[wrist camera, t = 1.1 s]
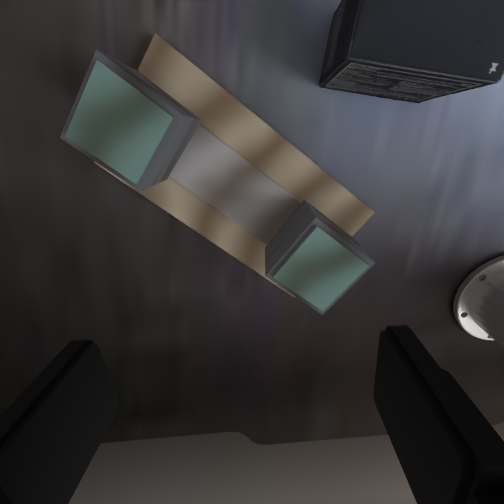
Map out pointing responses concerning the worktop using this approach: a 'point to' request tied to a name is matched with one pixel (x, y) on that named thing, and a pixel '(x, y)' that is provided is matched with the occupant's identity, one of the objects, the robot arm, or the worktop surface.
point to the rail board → (220, 172)
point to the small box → (414, 47)
